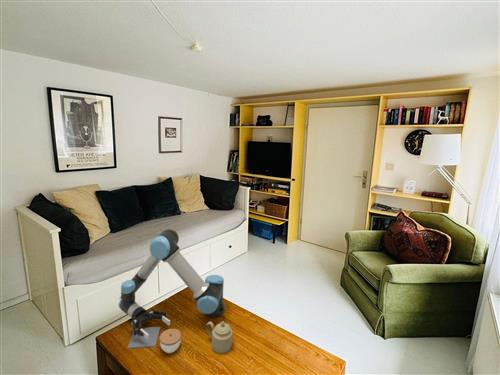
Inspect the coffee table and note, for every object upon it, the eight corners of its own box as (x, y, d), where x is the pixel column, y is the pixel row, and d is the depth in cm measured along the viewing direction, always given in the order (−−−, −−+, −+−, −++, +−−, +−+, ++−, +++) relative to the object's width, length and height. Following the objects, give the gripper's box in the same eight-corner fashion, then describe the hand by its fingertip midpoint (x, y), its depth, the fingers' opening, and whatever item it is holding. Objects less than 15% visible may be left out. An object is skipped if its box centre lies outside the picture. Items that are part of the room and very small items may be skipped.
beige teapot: (202, 352, 137) (203, 327, 134) (206, 336, 148) (207, 313, 145) (230, 354, 137) (232, 329, 134) (232, 338, 148) (233, 314, 145)
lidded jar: (159, 343, 141) (158, 328, 139) (179, 338, 145) (179, 323, 143) (160, 359, 131) (160, 343, 129) (182, 353, 135) (182, 337, 134)
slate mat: (160, 327, 152) (160, 326, 152) (155, 346, 139) (155, 345, 139) (134, 329, 150) (134, 328, 150) (127, 348, 137) (127, 347, 136)
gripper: (155, 308, 165) (177, 323, 153) (116, 330, 145) (138, 349, 133) (155, 297, 164) (177, 312, 152) (116, 318, 144) (137, 337, 132)
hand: (159, 329), depth 143 cm, fingers open, 13 cm apart
